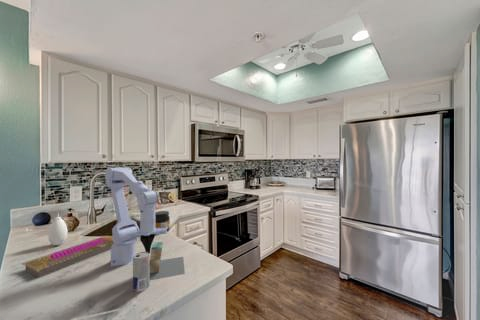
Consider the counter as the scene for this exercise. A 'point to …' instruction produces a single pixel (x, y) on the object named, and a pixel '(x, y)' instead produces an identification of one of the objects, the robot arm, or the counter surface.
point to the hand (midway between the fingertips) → (148, 252)
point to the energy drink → (141, 271)
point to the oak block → (155, 257)
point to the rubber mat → (169, 268)
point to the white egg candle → (57, 231)
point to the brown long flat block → (64, 253)
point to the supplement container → (162, 220)
